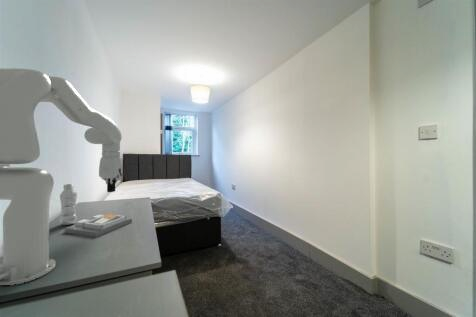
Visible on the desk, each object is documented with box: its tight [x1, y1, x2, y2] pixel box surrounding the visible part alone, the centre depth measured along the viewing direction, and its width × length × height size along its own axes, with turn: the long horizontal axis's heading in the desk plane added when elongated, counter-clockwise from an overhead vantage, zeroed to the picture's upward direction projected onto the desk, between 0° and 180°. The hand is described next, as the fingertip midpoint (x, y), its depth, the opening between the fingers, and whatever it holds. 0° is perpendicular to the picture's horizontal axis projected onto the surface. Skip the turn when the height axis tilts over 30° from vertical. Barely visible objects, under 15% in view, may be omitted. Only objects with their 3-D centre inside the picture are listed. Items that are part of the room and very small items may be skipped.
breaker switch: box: [94, 213, 118, 224], centre depth 98 cm, size 8×5×1 cm, turn 166°
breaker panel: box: [64, 214, 133, 238], centre depth 99 cm, size 20×18×4 cm
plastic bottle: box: [59, 183, 78, 226], centre depth 101 cm, size 6×7×20 cm
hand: (111, 191), depth 100 cm, fingers closed
